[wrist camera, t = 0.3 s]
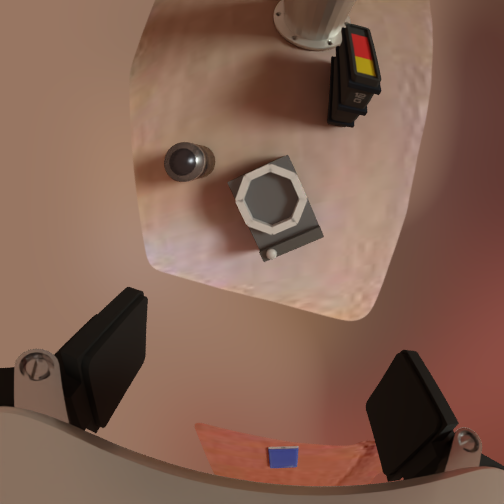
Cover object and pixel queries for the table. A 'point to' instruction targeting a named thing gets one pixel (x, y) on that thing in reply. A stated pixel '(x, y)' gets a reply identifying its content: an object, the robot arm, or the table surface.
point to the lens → (189, 161)
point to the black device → (353, 76)
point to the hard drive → (283, 457)
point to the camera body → (275, 208)
